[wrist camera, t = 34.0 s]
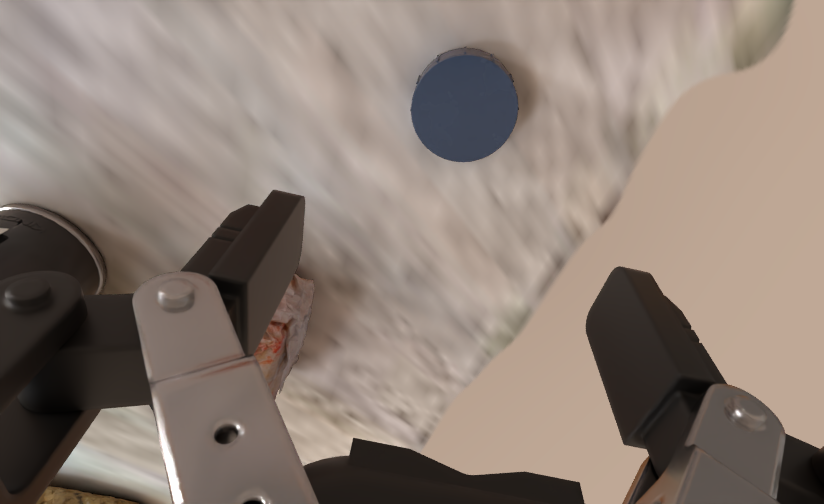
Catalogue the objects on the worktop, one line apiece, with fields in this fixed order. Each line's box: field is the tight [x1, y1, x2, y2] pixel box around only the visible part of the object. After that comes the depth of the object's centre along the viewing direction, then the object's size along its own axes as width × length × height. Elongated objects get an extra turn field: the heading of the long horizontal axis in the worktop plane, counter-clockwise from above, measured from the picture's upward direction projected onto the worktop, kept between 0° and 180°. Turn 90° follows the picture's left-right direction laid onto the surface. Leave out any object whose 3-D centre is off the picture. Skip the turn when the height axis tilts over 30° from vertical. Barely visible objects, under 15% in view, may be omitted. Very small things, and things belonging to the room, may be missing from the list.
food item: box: [254, 274, 315, 400], centre depth 34 cm, size 14×8×10 cm, turn 162°
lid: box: [411, 47, 519, 162], centre depth 26 cm, size 6×6×2 cm
